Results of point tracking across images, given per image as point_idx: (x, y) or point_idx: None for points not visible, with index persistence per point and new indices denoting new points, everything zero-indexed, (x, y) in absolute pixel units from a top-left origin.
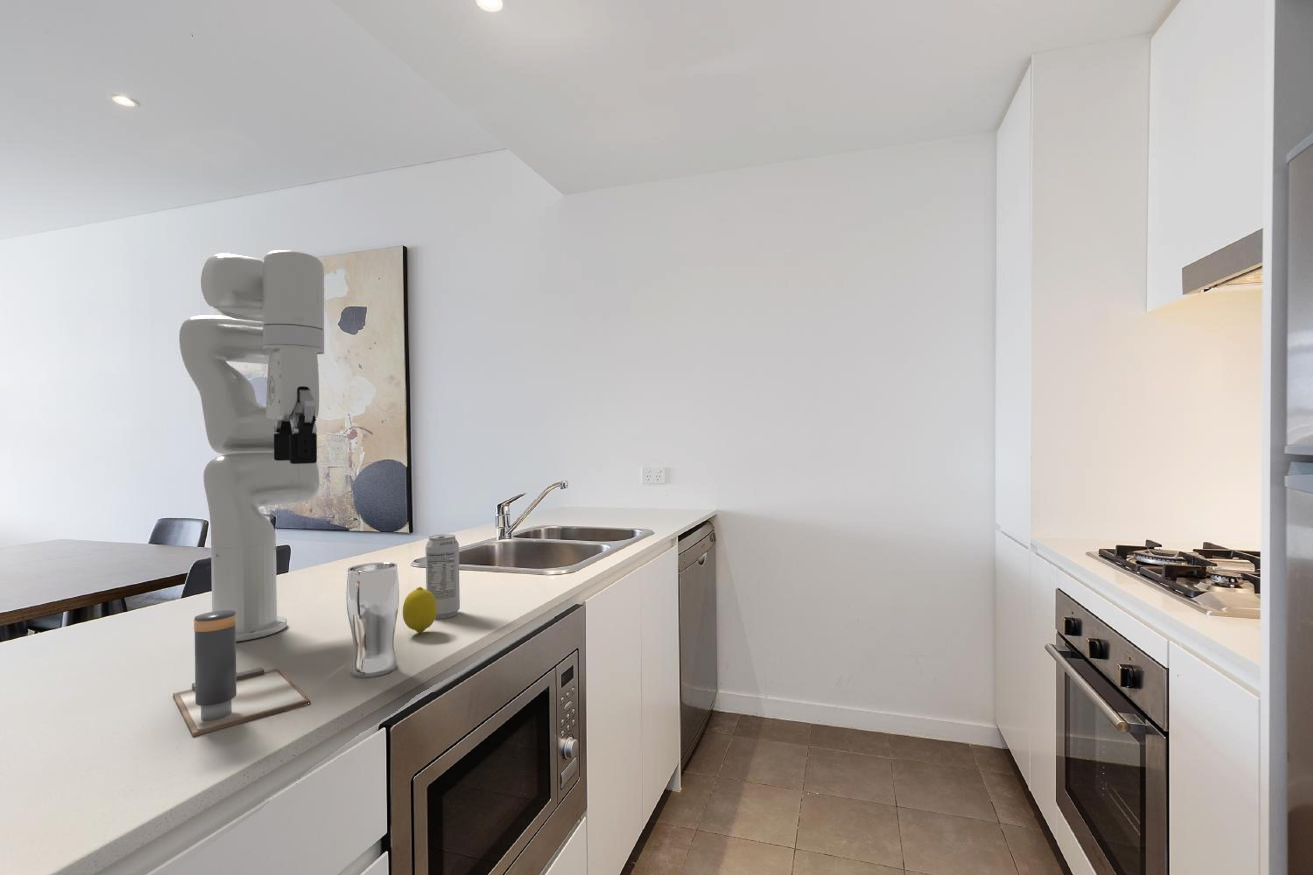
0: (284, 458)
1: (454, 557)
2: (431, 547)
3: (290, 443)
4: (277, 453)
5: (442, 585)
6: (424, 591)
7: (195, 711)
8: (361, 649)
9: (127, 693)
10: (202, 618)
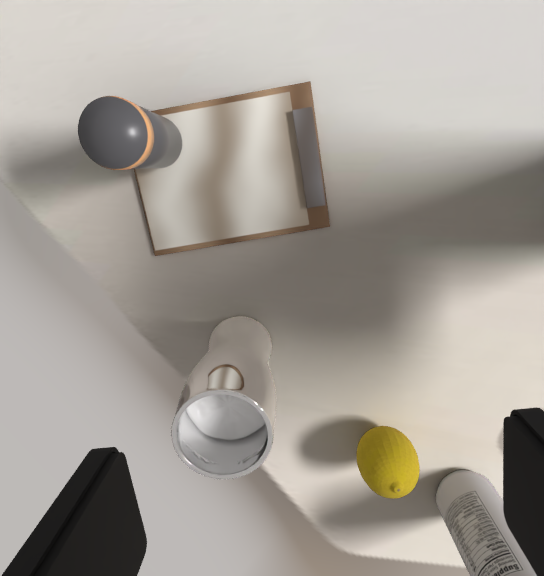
0: (506, 458)
1: None
2: None
3: (31, 533)
4: (524, 445)
5: (458, 529)
6: (383, 490)
7: (197, 116)
8: (216, 341)
9: (377, 12)
10: (93, 111)
